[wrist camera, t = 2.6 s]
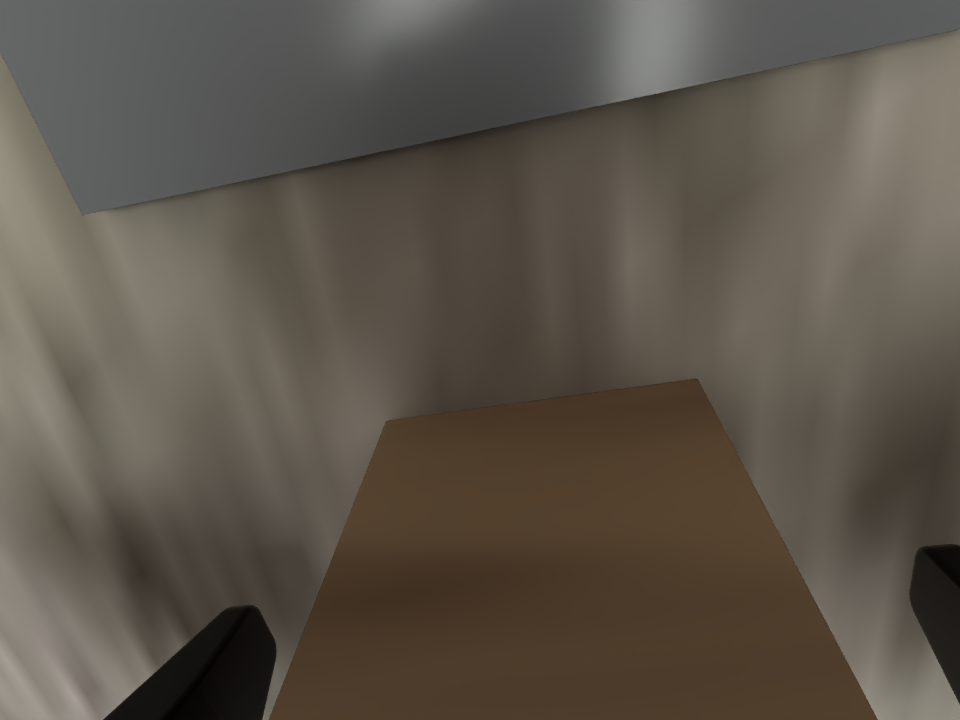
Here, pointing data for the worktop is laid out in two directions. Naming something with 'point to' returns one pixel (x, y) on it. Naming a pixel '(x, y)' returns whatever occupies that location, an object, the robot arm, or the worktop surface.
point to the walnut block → (565, 576)
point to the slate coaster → (376, 73)
